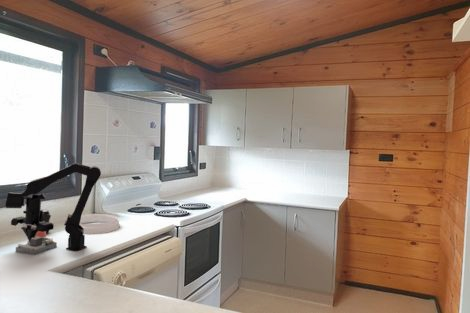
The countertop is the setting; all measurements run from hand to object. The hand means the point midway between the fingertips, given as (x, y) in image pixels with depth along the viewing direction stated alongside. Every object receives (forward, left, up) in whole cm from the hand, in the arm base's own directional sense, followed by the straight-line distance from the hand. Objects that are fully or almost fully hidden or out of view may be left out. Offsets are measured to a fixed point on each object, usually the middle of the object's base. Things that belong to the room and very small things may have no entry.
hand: (31, 242), depth 161 cm
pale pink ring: (+3, -46, -4) cm, 46 cm away
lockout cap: (+8, -13, -4) cm, 16 cm away
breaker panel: (0, -3, -4) cm, 5 cm away
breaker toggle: (-3, 0, -2) cm, 3 cm away
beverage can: (+19, -25, -4) cm, 32 cm away
